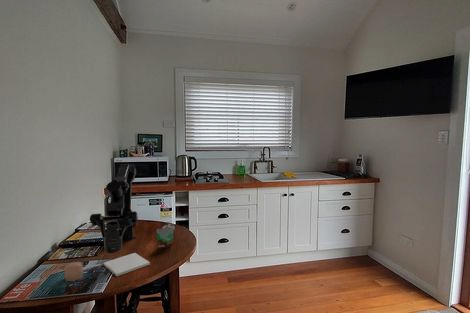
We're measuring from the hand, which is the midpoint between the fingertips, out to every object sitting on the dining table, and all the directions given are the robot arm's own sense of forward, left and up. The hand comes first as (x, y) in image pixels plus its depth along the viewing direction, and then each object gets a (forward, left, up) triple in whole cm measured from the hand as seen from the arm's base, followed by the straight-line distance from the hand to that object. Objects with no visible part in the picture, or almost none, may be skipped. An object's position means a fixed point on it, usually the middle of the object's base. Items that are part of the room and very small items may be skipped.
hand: (112, 236), depth 112 cm
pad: (+2, +5, -13) cm, 14 cm away
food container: (-4, +29, -13) cm, 32 cm away
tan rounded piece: (-2, -14, -13) cm, 19 cm away
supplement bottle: (-1, +1, -7) cm, 7 cm away
